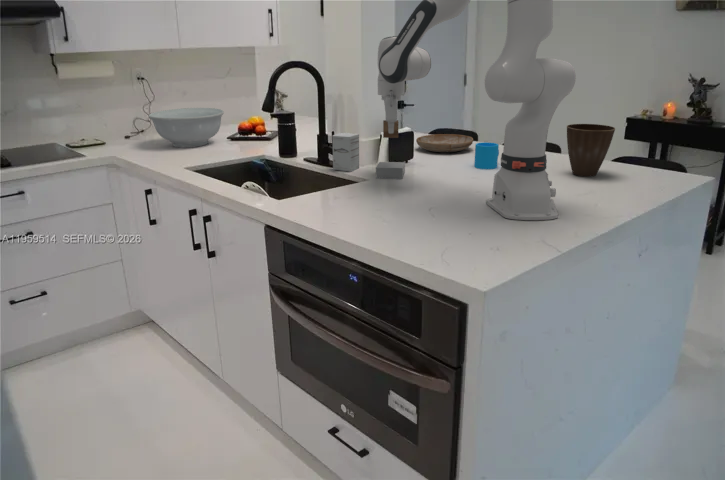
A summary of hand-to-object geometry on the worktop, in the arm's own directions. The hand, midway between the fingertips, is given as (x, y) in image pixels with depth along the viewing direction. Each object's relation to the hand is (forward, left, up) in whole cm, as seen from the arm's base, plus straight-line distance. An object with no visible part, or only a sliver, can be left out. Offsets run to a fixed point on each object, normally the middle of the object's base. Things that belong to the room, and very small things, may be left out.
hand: (390, 131), depth 184 cm
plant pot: (0, -66, -15) cm, 68 cm away
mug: (+14, -36, -15) cm, 42 cm away
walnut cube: (0, 0, -2) cm, 2 cm away
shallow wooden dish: (+45, -23, -15) cm, 53 cm away
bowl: (+62, +91, -15) cm, 111 cm away
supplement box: (+10, +16, -15) cm, 24 cm away
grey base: (0, 0, -15) cm, 15 cm away
